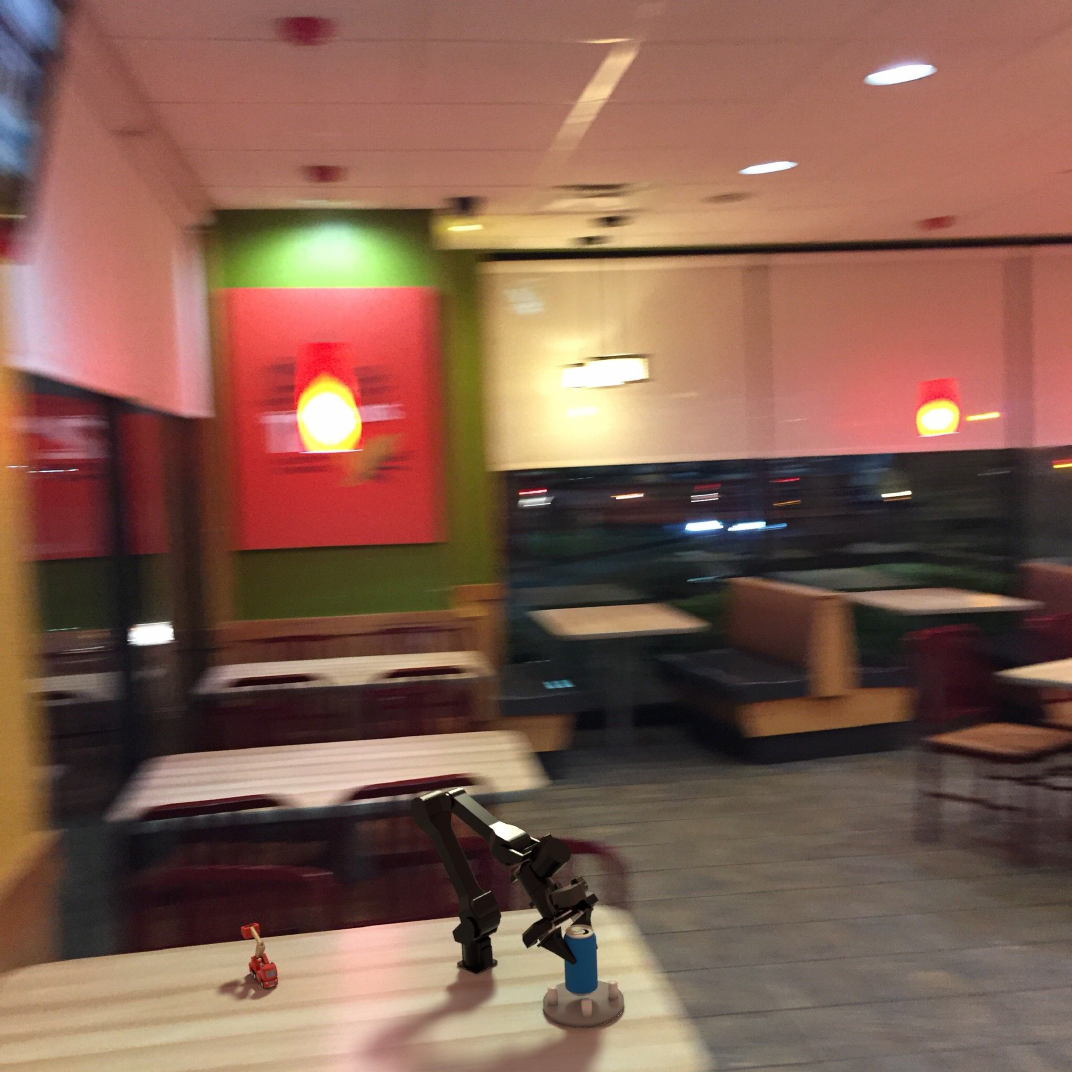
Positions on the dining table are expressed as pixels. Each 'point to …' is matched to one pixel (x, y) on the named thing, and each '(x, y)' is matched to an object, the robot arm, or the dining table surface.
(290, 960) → the dining table surface
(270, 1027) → the dining table surface
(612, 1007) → the peg stand
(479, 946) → the robot arm
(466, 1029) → the dining table surface
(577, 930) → the beverage can
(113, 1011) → the dining table surface
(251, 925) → the toy fire truck
